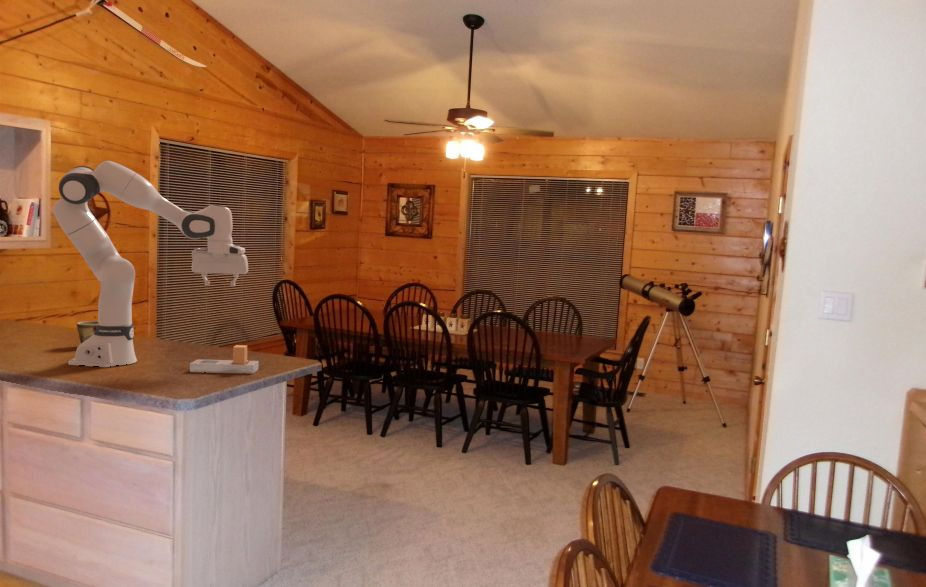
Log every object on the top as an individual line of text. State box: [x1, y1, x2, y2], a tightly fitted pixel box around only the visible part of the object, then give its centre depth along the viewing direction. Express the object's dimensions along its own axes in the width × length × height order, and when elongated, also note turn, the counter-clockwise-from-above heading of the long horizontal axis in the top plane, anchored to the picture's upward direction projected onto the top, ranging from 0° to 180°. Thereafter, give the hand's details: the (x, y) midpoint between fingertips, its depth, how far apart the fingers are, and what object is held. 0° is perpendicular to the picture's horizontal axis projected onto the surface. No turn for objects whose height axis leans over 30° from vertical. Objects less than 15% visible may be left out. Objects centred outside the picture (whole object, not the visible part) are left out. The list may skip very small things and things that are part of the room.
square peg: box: [232, 344, 248, 364], centre depth 257 cm, size 4×4×9 cm
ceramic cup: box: [76, 320, 98, 344], centre depth 292 cm, size 13×10×10 cm
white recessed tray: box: [189, 358, 260, 375], centre depth 256 cm, size 22×8×3 cm, turn 93°
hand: (220, 285), depth 268 cm, fingers open, 8 cm apart
